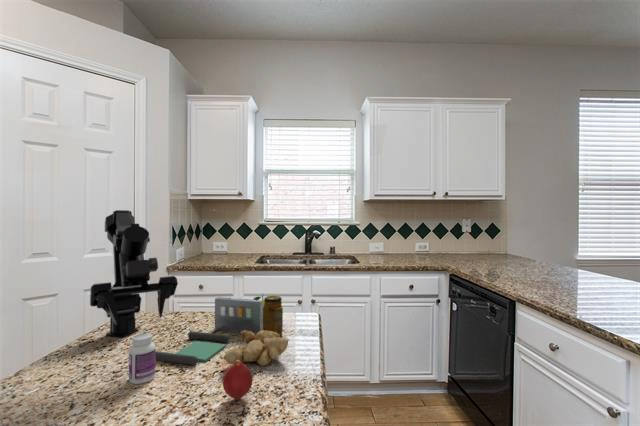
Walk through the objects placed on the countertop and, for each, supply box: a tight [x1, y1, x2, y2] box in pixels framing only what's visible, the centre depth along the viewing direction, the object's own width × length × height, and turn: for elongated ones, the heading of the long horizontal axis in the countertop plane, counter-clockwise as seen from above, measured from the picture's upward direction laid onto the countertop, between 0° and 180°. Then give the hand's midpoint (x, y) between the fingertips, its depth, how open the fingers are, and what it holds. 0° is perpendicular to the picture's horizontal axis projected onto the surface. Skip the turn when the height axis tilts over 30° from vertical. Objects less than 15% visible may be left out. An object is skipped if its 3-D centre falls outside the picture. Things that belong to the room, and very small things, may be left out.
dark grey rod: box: [187, 330, 230, 343], centre depth 96 cm, size 13×2×2 cm, turn 76°
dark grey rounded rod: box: [155, 350, 199, 366], centre depth 82 cm, size 13×2×2 cm, turn 76°
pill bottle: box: [128, 332, 157, 385], centre depth 73 cm, size 5×5×10 cm
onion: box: [222, 360, 253, 401], centre depth 65 cm, size 6×6×8 cm
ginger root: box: [222, 330, 289, 367], centre depth 84 cm, size 16×16×8 cm
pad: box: [174, 340, 227, 363], centre depth 88 cm, size 10×10×1 cm
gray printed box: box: [214, 296, 264, 335], centre depth 104 cm, size 16×3×10 cm, turn 76°
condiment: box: [263, 295, 290, 341], centre depth 99 cm, size 7×8×12 cm
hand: (139, 319), depth 77 cm, fingers open, 9 cm apart
